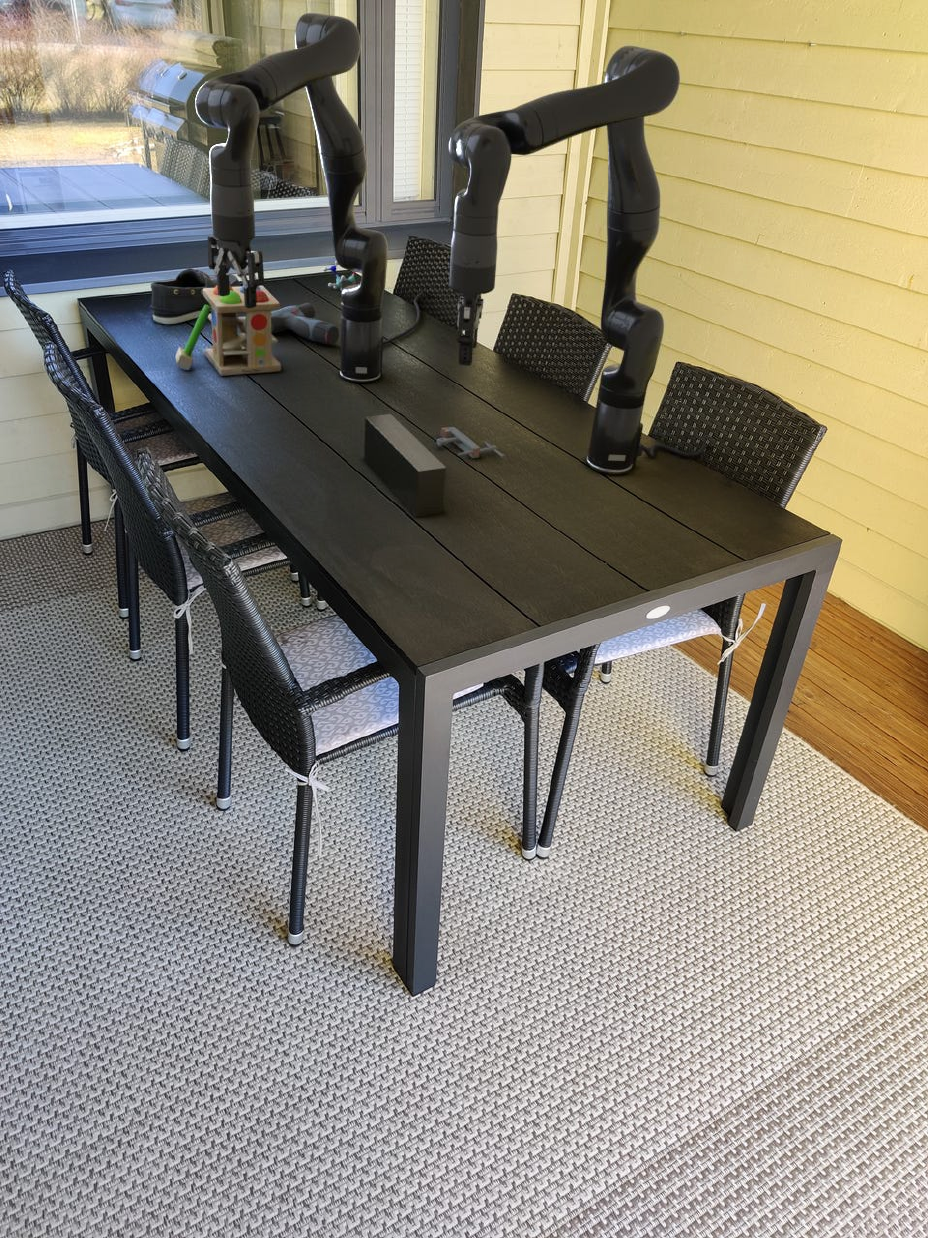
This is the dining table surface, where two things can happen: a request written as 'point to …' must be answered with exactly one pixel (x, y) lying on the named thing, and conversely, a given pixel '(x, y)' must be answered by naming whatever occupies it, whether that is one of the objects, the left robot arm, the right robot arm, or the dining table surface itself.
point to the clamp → (464, 443)
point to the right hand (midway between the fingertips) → (467, 355)
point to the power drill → (304, 324)
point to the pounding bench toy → (235, 333)
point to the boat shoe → (183, 296)
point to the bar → (404, 465)
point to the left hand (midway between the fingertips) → (237, 301)
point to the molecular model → (339, 279)
